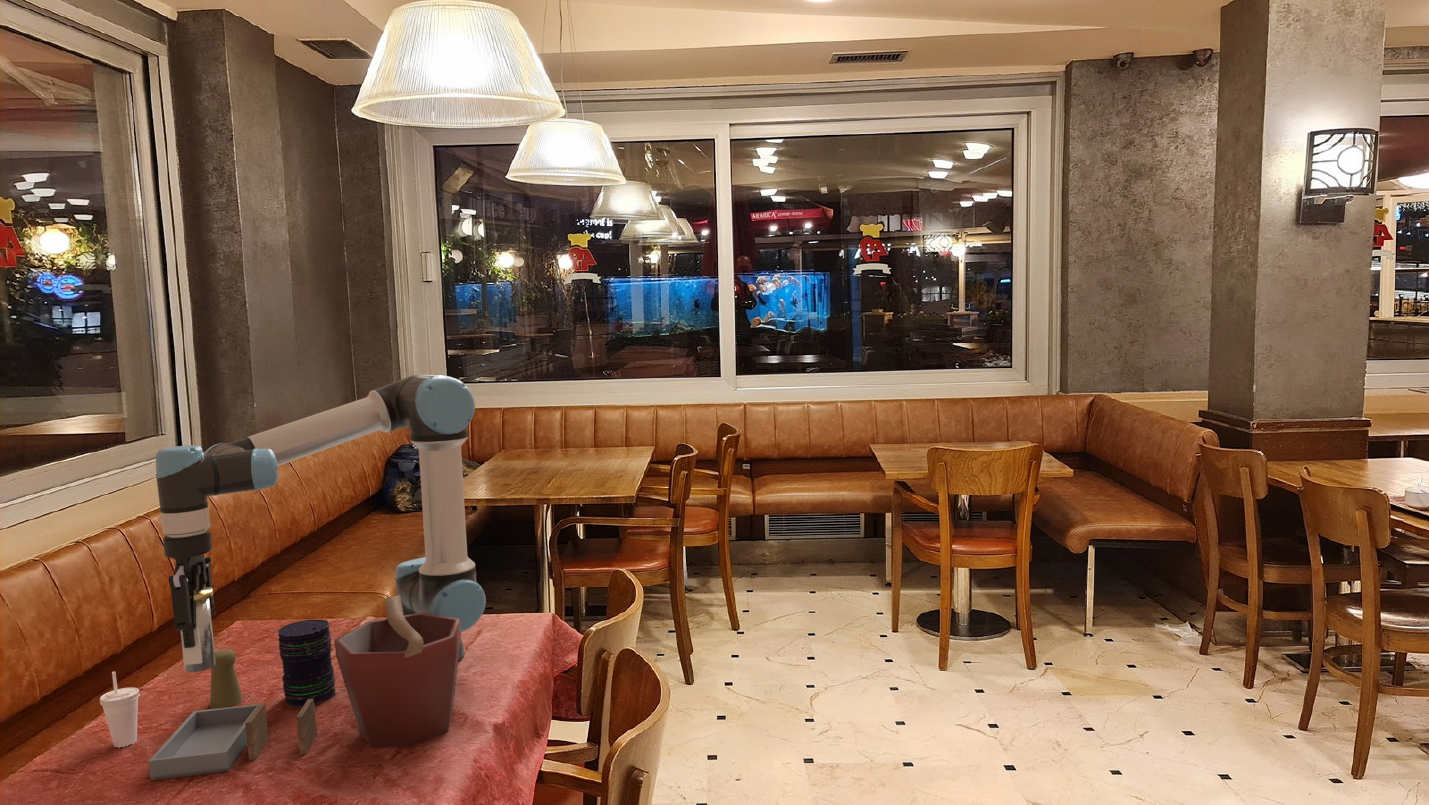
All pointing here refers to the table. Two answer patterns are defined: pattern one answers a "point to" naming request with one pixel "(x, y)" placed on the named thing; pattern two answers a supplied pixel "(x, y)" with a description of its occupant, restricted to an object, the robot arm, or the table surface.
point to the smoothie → (121, 714)
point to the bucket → (401, 675)
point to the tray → (203, 743)
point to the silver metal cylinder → (203, 631)
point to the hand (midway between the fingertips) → (199, 657)
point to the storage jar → (306, 662)
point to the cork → (224, 681)
